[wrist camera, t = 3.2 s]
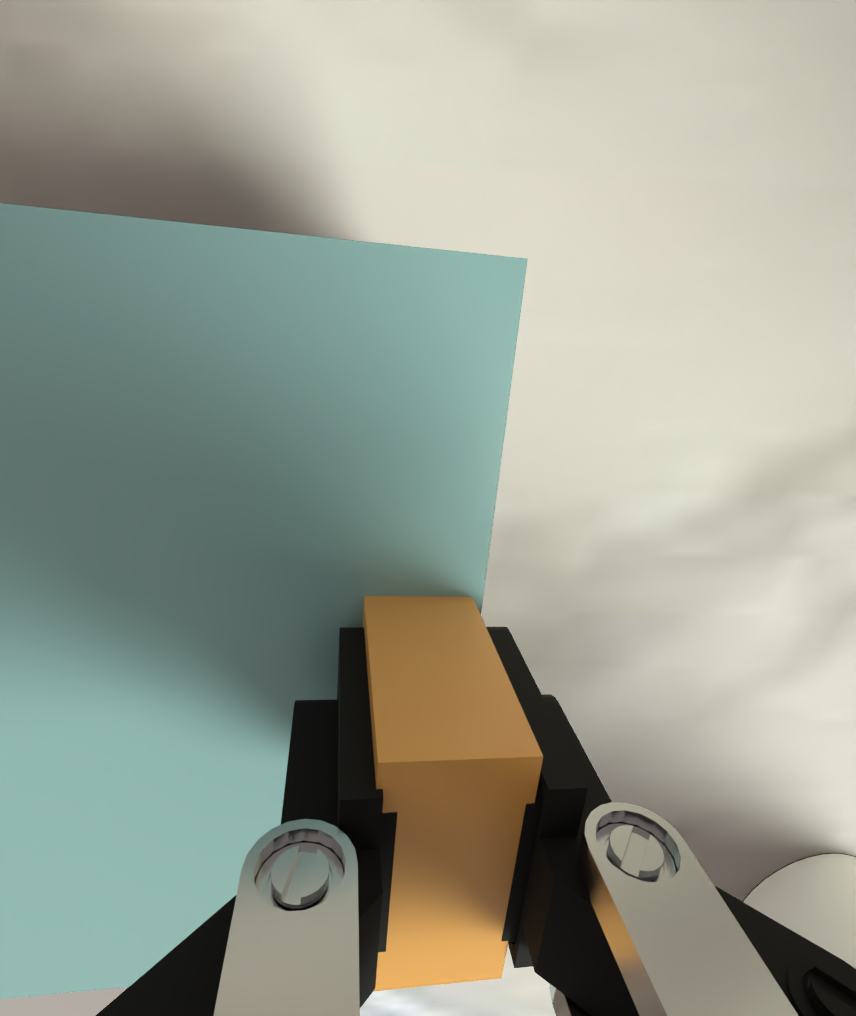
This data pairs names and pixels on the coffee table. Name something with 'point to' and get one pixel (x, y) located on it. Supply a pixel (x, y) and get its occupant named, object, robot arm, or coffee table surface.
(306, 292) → the lid
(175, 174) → the coffee table surface
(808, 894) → the cylindrical container
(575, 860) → the robot arm
